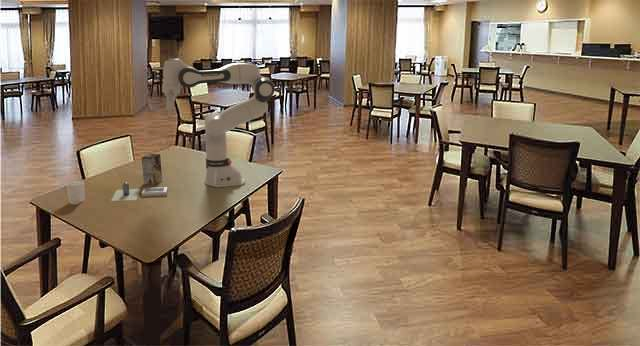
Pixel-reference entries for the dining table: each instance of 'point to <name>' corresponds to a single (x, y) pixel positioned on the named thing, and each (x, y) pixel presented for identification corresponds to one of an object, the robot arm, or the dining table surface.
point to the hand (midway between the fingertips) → (169, 115)
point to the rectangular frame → (155, 191)
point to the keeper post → (125, 189)
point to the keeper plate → (132, 196)
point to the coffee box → (152, 169)
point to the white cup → (76, 192)
